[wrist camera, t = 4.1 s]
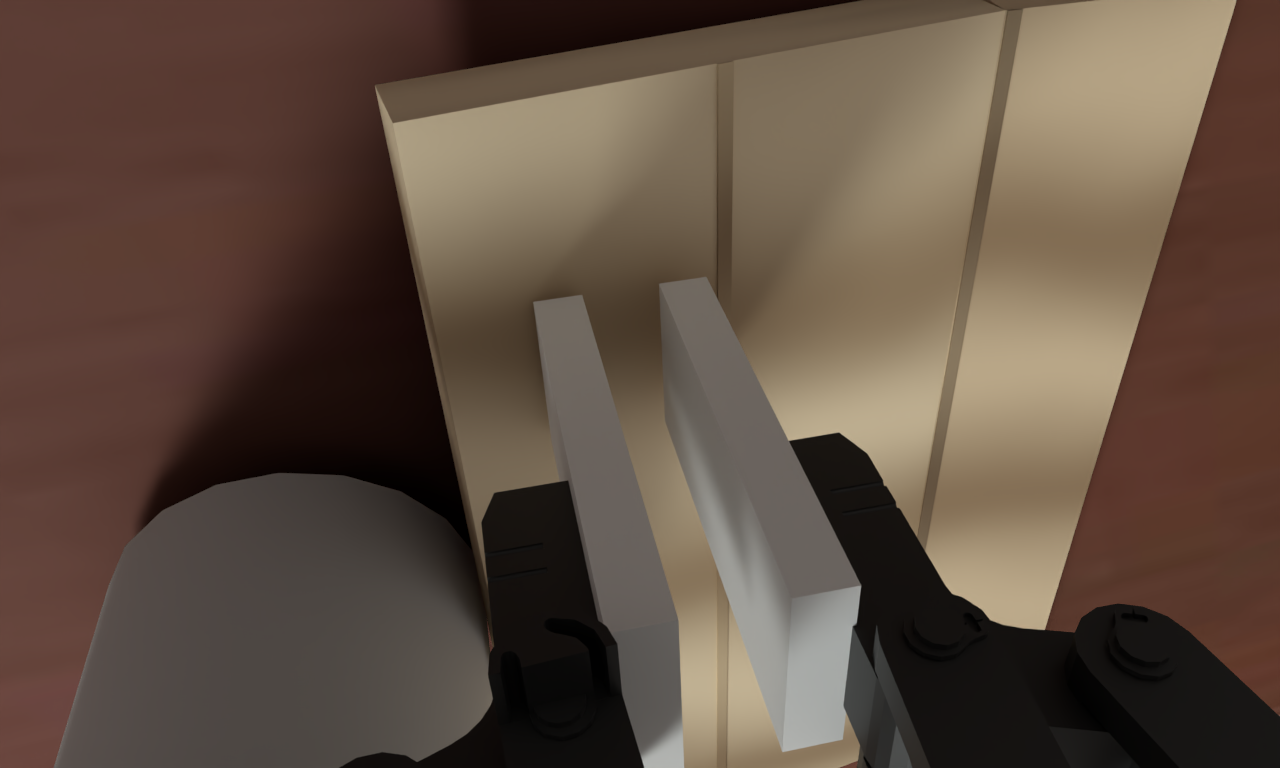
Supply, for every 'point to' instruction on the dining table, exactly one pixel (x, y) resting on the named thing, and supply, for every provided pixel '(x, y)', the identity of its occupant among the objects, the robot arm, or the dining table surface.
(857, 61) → the plank
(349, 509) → the can
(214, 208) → the dining table surface
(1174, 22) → the laid board
